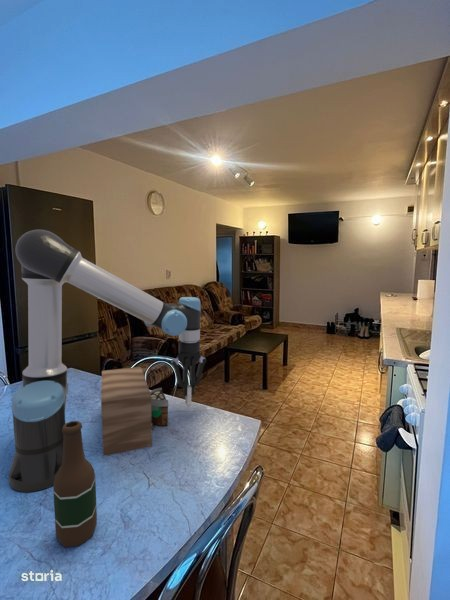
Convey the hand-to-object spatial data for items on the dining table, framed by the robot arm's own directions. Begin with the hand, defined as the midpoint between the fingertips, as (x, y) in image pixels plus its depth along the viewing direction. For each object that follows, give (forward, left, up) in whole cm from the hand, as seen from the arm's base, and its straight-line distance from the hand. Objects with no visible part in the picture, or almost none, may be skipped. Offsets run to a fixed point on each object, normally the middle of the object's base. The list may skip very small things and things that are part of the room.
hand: (188, 403), depth 114 cm
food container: (+1, +11, -6) cm, 13 cm away
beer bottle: (-40, +34, -6) cm, 53 cm away
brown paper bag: (0, +22, -5) cm, 23 cm away
